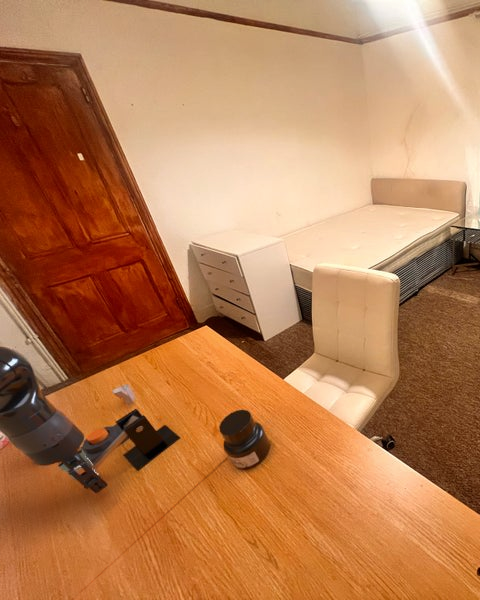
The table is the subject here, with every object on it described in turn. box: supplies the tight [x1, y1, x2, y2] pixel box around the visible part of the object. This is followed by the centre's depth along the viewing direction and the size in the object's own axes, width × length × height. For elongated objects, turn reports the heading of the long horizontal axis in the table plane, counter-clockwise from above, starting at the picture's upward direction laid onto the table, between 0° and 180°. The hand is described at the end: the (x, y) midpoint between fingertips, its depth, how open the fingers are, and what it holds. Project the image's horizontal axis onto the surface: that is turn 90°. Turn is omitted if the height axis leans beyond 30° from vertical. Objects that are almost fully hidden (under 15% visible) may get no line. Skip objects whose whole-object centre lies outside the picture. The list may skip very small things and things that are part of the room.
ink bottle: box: [218, 409, 271, 470], centre depth 74 cm, size 10×9×12 cm
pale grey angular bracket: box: [112, 384, 136, 405], centre depth 92 cm, size 7×2×8 cm, turn 35°
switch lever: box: [93, 415, 139, 471], centre depth 72 cm, size 14×5×2 cm, turn 148°
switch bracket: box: [115, 408, 181, 472], centre depth 76 cm, size 10×8×12 cm
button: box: [86, 427, 109, 445], centre depth 79 cm, size 4×4×2 cm
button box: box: [80, 423, 130, 463], centre depth 80 cm, size 10×7×4 cm
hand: (94, 479), depth 70 cm, fingers open, 8 cm apart
